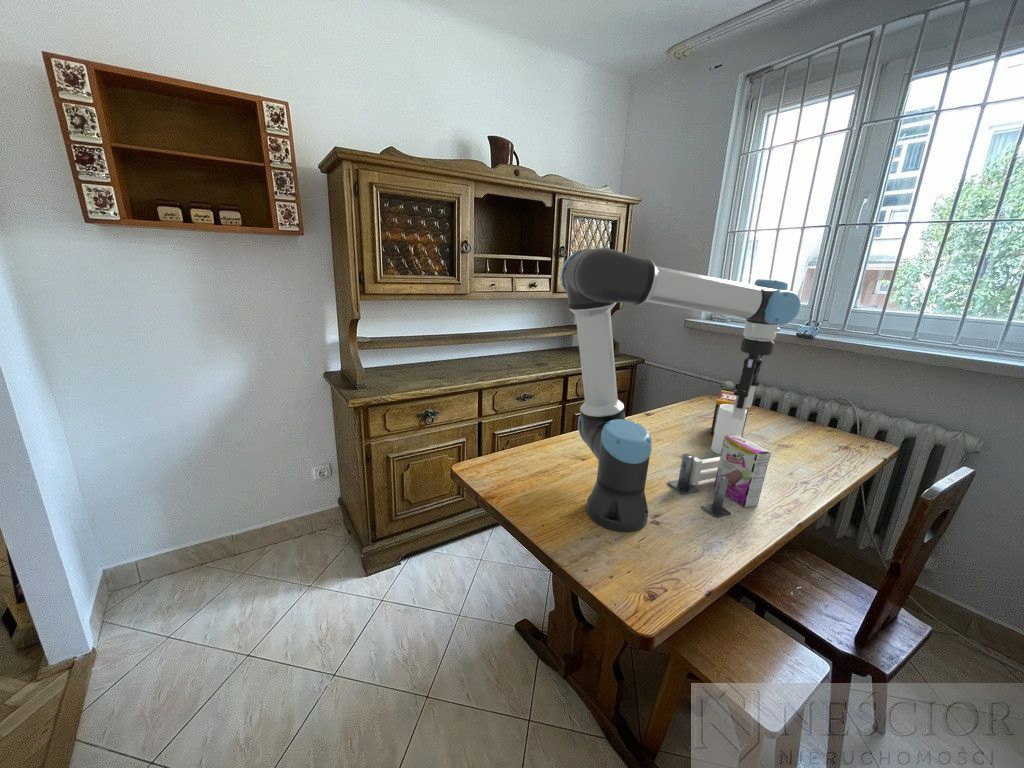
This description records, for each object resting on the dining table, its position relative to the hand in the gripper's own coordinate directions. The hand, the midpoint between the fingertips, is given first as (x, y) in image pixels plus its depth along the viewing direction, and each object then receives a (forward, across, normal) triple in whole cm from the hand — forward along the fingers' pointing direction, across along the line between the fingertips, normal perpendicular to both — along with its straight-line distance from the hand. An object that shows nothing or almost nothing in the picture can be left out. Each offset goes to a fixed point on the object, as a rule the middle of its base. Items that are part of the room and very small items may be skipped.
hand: (741, 412), depth 114 cm
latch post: (+22, -20, -1) cm, 29 cm away
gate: (+21, -5, +4) cm, 22 cm away
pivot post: (+22, -13, +9) cm, 27 cm away
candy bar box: (+22, -8, -4) cm, 24 cm away
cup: (+22, +22, +5) cm, 31 cm away
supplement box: (+22, +37, +7) cm, 44 cm away
